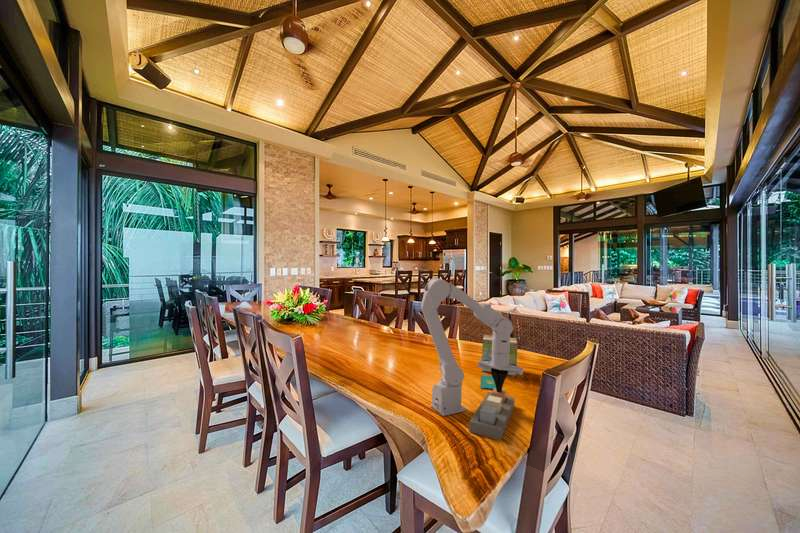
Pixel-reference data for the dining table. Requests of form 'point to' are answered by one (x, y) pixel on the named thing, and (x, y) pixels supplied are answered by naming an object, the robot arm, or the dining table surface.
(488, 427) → the key panel
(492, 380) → the smartphone
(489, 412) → the slate key
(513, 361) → the tea box
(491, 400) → the white key
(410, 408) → the dining table surface
